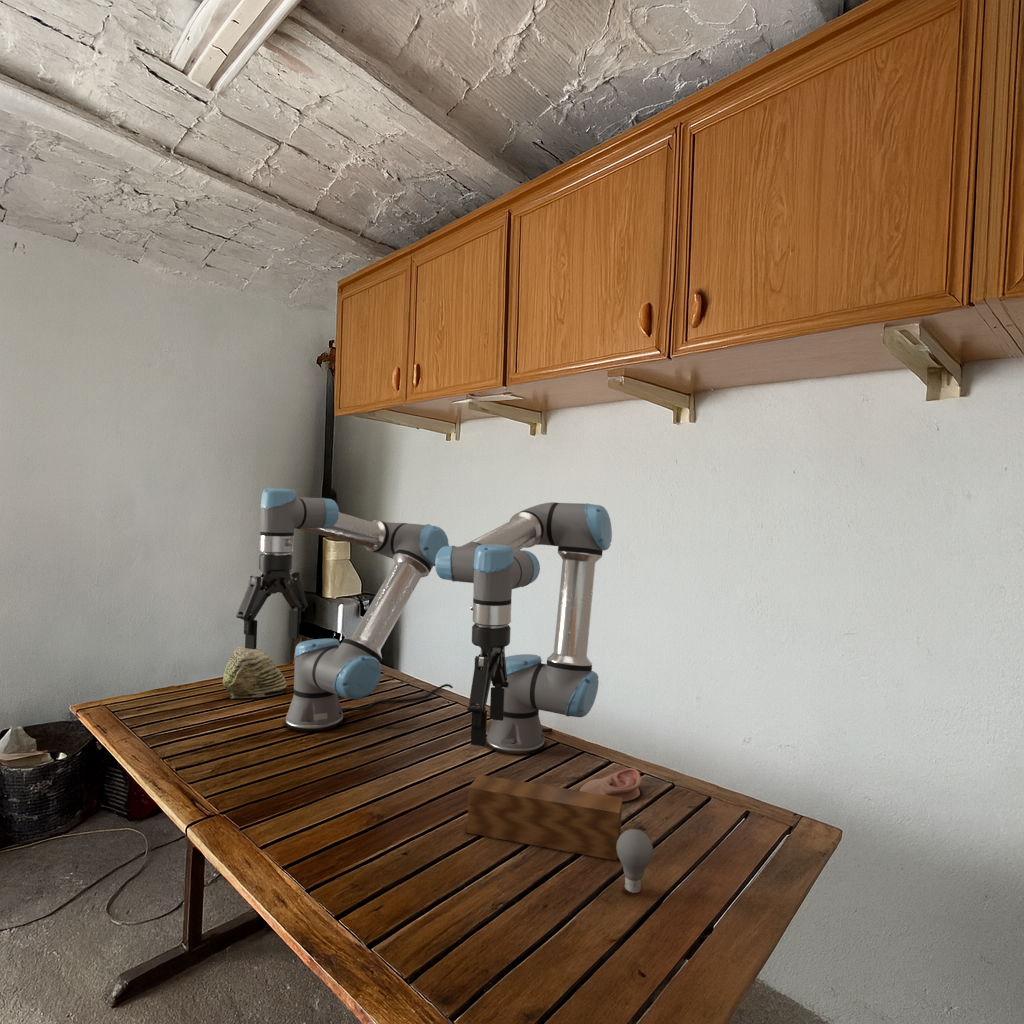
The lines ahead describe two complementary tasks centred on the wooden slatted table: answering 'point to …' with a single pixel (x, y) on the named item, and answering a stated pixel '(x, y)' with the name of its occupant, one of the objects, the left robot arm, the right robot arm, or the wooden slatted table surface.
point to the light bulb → (634, 857)
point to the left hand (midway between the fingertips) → (272, 643)
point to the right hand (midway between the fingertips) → (487, 731)
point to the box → (545, 816)
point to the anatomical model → (616, 785)
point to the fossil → (252, 674)
